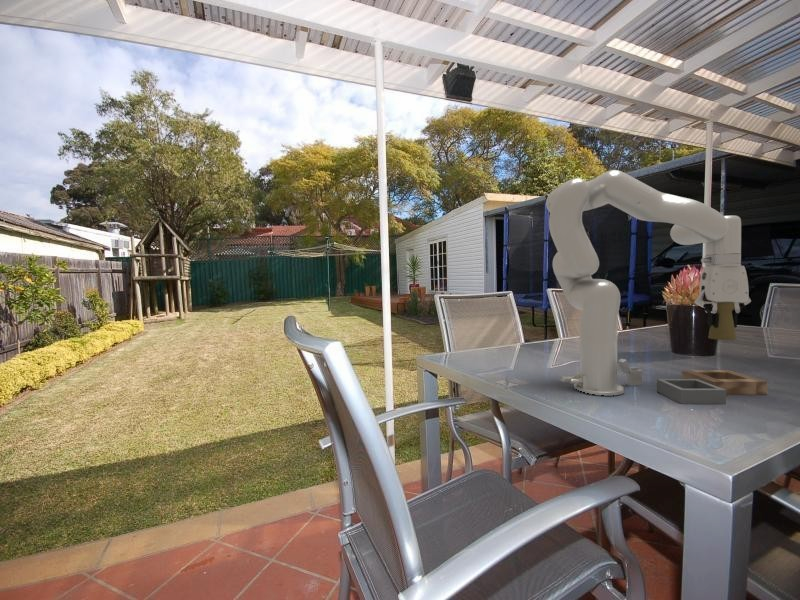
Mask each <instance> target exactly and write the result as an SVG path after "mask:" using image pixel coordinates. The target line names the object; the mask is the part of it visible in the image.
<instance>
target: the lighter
mask: <svg viewBox="0 0 800 600" xmlns="http://www.w3.org/2000/svg"><path fill="white" fill-rule="evenodd" d="M617 364H618V365H619V367H620V369H621V372H622V373H623V374H625V375H626V385H627V386H630V387H635V386H634V385H637V386H642V385H643V370H642V369H639V367H638V366H629V364H628V361H627V359H625V358H620V359H617Z"/></svg>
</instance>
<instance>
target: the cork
mask: <svg viewBox="0 0 800 600" xmlns="http://www.w3.org/2000/svg"><path fill="white" fill-rule="evenodd" d="M711 307H712V304H711ZM734 307H735V304H734V302H718V304H717V312H716V313H718V314H719V322H718V328H714V326H713V325H711V327H709V331H708V337H707V338H708V339H709V340H719V341H736V340H737V334H736V329H735V328H736V327H735V328H734V321H733V315H732V311H733V310H734Z"/></svg>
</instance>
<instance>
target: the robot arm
mask: <svg viewBox="0 0 800 600" xmlns="http://www.w3.org/2000/svg"><path fill="white" fill-rule="evenodd" d="M605 205H611V206H612V207H614V208H617V209H618V210H620V211H622V212H624V213H626V214H628V215H630V216H631V217H633V218H635V219H637V220H639V221H645V222H654V223H665V224H666V223H668V224H673V226H672V228H671V229H670V231H669V235H670V237H671V240H672V241H673V242H675V243H676V244H679V245H681V246H682V245H683V246H691V245H698V244H704V245H705V251H704V253H705V254H704V257H702V258H701V259H700V262H701V264H704V265H705V266H703V267H702V270H701V274H700V279H699V291H698V292H699V293H698V295H697V297H696V298H695V300H694V304H696V305H697V306H699V307H701V308H702V309H703V311H704V312H705V313H706V314H707V326H708V327H709V328H710V327H711V325H713V326H714V328H718V322H719V314H718V313H716V312H717V304H718V302H734V304H735V307H734V310H733V311H732V315H733V321H734V328H737V327H738V314H739V313H740V312H741V310H742V309H744V307H745V306H746V305H749V304H750V303H751V302H752V300H751V298H750V296H749V294H750V293H749V291H750V290H749V289H750V288H749V280H748V275H747V270H746V267H745V265H742V262H741V261H742V219H741V217H740V216H738V215H734V214H733V215H723V214H722V213H721V212H719V211H718V210H717V209H714V208H712V207H711V206H709V205H708V204H705V203H703V202H701V201H698V200H695V199H692V198H689V197H688V198H687V197H684V196H679V195H675V194H671V193H666V192H662V191H659V190H657V189H655V188H653V187H652V186H650V185H648V184H646V183H644V182H643V181H641V180H639V179H637V178H635V177H634V176H631V175H629V174H628V173H625V172H624V171H621V170H620V169H619V170H618V169H610V170H607V171H605V172H603V173H602V174H599V175H598V176H597V177H594V178H593V179H590V180H588V181H586V180H585V179H583V178H581V177H580V178H579V177H577V178H576V177H575V178H571V179H569V180H567V181H565V182H563V183H562V184H560V185H559V186H557V187H555V188H554V189H553V190H552V191H551V192H550V193H549V194H548V195H547V198H546V201H545V207H546V209H547V210H548V212H549V217H548V229H549V233H550V236H551V239H552V241H553V243H554V246H555V248H556V250H557V252H556V253H555V255H554V256H553V259H552V269H553V270H552V271H553V274H554V275H555V278H556V280H557V281H558V284H559V286H560V287H561V289H562V292H563V294H564V296H565V298H566V300H567V302H568V303H569V304H570V305H571V307H574V308H575V309H576V310H579V311H581V314H580V318H579V323H578V324H579V327H578V328H579V329H578V334H579V335H578V336H579V371H575V373H576V374H573V375H562V376H561V381H562V383H569V384H570V385H571V384H572V385H573V388H574V389H575V390H576V389H577V390H576V391H578V390H579V391H578V392H580V391H582V392H581V393H583V392H585V393H584V394H587V393H589V394H588V395H592V394H595V395H594V396H601V395H604V396H605V397H608V396H609V397H610V396H613V395H614V396H619V395H623V393H625V391H624V390H625V387H624V386H622V385H621V384H619V383H618V318H619V312H620V311H619V310H620V305H621V292H620V289H619V288H618V287H617V285H616V284H615V283H613V282H612V281H610V280H607V279H602V278H593V277H592V276H593V275H594V274H596V272H597V271H598V269H599V267H600V260H599V257H598V254H597V252H596V250H595V248H594V246H593V244H592V242H591V240H590V237H589V236H588V234H587V232H586V229H585V226H584V224H583V212H585V211H586V212H587V211H590V210H593V209H598V208H601V207H604V206H605ZM711 304H712V307H711ZM604 396H603V397H604Z"/></svg>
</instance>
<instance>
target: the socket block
mask: <svg viewBox="0 0 800 600" xmlns="http://www.w3.org/2000/svg"><path fill="white" fill-rule="evenodd" d="M681 373H682V374H681V379H698V380H701V381H704V382H706V383H709V384H712V385H714V386H717V387H720V388H722V389H725V390H726V396H727V395H731V396H734V395H735V396H737V395H741V396H742V395H743V396H744V395H746V396H748V395H749V396H750V395H751V396H752V395H754V396H756V395H757V396H758V395H759V396H761V395H762V396H763V395H765V396H767V395H768V381H767V380H763V379H760V378H757V377H753V376H751V375H748V374H743V373H740V372H736V371H733V370H730V369H695V370H694V369H692V370H691V369H690V370H689V369H683V370H681Z"/></svg>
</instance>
